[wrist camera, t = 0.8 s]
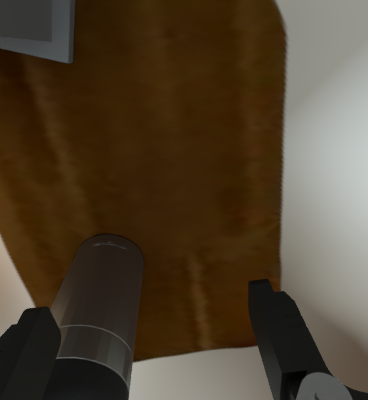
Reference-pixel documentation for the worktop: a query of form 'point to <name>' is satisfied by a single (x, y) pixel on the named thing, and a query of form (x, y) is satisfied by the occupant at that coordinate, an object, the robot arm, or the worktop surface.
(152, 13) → the worktop surface
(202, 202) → the worktop surface
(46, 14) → the stand
